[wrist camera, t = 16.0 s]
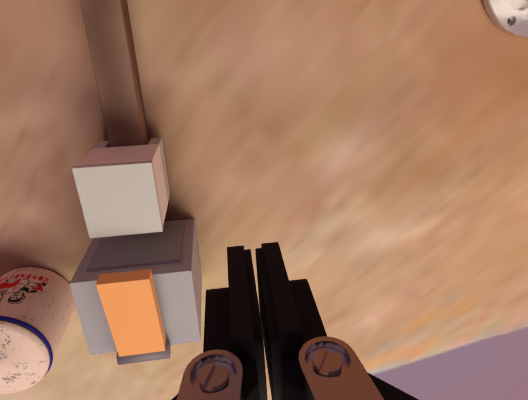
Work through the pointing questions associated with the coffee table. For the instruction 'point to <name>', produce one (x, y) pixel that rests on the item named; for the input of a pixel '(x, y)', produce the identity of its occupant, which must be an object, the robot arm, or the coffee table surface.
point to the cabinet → (164, 275)
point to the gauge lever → (133, 316)
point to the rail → (116, 71)
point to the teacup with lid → (31, 324)
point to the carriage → (123, 189)
